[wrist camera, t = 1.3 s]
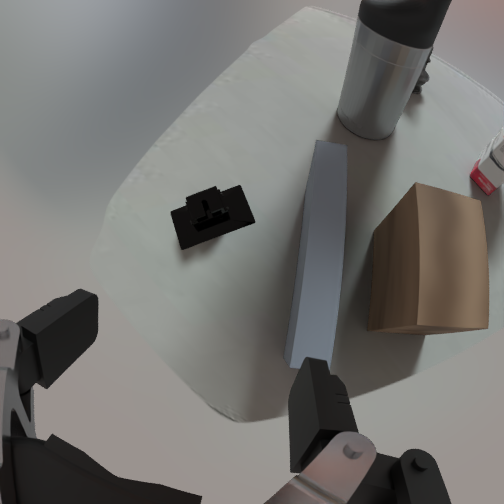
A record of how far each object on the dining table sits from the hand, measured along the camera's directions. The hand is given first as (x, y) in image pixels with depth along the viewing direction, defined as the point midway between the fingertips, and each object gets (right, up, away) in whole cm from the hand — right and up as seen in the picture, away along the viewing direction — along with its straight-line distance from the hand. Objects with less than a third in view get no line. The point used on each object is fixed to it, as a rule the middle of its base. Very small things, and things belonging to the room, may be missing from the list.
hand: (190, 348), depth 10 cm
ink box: (+41, +17, +25) cm, 51 cm away
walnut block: (+20, 0, +21) cm, 29 cm away
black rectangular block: (-3, +7, +26) cm, 27 cm away
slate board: (+9, +1, +22) cm, 24 cm away
